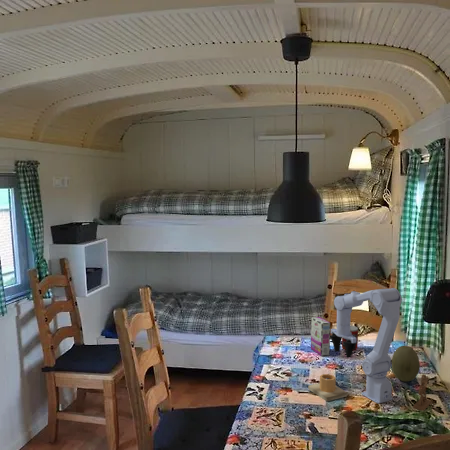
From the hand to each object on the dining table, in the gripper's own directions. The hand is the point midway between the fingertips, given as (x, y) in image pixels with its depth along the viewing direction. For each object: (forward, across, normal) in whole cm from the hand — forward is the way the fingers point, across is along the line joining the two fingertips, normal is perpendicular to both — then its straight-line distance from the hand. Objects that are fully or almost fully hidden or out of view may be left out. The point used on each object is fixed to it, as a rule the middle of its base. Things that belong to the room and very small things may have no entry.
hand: (342, 354), depth 206 cm
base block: (+10, -9, +15) cm, 20 cm away
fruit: (+11, -14, -22) cm, 28 cm away
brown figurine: (+11, -34, -11) cm, 37 cm away
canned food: (+11, +26, -26) cm, 38 cm away
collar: (+9, -9, +15) cm, 20 cm away
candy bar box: (+11, +29, -10) cm, 32 cm away
